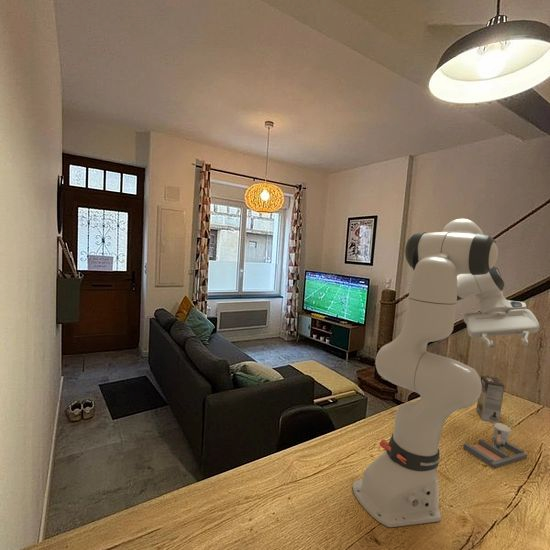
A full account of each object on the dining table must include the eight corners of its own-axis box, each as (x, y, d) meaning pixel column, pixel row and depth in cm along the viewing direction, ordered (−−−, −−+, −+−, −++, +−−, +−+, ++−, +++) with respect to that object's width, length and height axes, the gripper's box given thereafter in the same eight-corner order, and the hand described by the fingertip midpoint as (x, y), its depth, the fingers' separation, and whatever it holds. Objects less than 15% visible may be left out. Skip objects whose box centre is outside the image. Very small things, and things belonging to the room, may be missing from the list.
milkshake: (512, 455, 106) (516, 427, 105) (494, 452, 107) (498, 424, 106) (505, 447, 110) (509, 420, 110) (488, 444, 111) (492, 417, 111)
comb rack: (493, 468, 98) (494, 462, 98) (463, 448, 108) (463, 443, 108) (526, 457, 105) (527, 452, 105) (495, 440, 115) (496, 435, 115)
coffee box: (475, 410, 138) (480, 374, 136) (492, 413, 136) (497, 377, 134) (481, 420, 129) (487, 382, 128) (500, 424, 127) (505, 385, 126)
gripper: (461, 309, 114) (472, 343, 105) (530, 301, 106) (548, 337, 97) (461, 318, 118) (471, 352, 109) (527, 312, 110) (544, 347, 101)
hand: (508, 345), depth 103 cm, fingers open, 8 cm apart
